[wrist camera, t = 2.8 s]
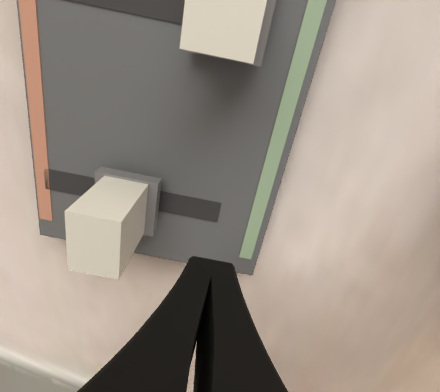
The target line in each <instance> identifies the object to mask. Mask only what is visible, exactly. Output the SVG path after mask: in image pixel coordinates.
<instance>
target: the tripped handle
mask: <svg viewBox="0 0 440 392" xmlns="http://www.w3.org/2000/svg"><path fill="white" fill-rule="evenodd" d="M161 181H162V178H157V177H152V176H147V175H142V174H137V173H132V172H127V171H122V170H117V169H112V168H106V167H100V168H98V169H97V170H96V171H95V185H93V186H92V187H91V188H90V189H89V190H88V191H87V192H86V193H84V194H83V195H82V196H81V197H80V198H79V199H78V200H77V201H75V202H74V203H73V204H72V205H71V206H70V207H69V208H68V209H66V210H65V229H66V248H67V267H68V270H69V271H75V272H80V273H85V274H91V275H96V276H101V277H106V278H112V279H117V280H119V278H120V276H121V275H122V273H123V271H124V269H125V267H126V265H127V264H128V262H129V260H130V258H131V256H132V254H133V253H134V251H135V249H136V247H137V245H138V243H139V242H140V240H141V238H142V236H143V235H147V236H152V237H153V235H154V233H155V231H156V228H157V218H158V209H159V200H160V191H161Z"/></svg>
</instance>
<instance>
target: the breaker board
mask: <svg viewBox="0 0 440 392" xmlns="http://www.w3.org/2000/svg"><path fill="white" fill-rule="evenodd" d="M335 2H336V0H276V3H275V8H274V12H273V16H272V21H271V25H270V30H269V34H268V38H267V43H266V47H265V51H264V56H263V60H262V65H261V67H258V66H253V65H249V64H244V63H239V62H234V61H230V60H225V59H220V58H215V57H210V56H206V55H201V54H196V53H191V52H186V51H184V49H179V48H180V39H181V31H182V22H183V13H184V4H185V0H17V8H18V18H19V28H20V38H21V48H22V58H23V68H24V78H25V88H26V98H27V108H28V118H29V128H30V138H31V148H32V158H33V168H34V178H35V188H36V198H37V208H38V218H39V228H40V235H45V236H50V237H55V238H60V239H65V240H66V229H65V210H66V209H68V208H69V207H70V206H71V205H72V204H73V203H74V202H75V201H77V200H78V199H79V198H80V197H81V196H82V195H83V194H84V193H86V192H87V191H88V190H89V189H90V188H91V187H92V186H93V185H95V171H96V170H97V169H98V168H100V167H106V168H112V169H117V170H122V171H127V172H132V173H137V174H142V175H147V176H152V177H157V178H162V181H161V191H160V200H159V209H158V218H157V228H156V231H155V233H154V235H153V237H152V236H147V235H143V236H142V238H141V240H140V242H139V243H138V245H137V247H136V249H135V251H134V253H138V254H144V255H149V256H154V257H159V258H164V259H170V260H175V261H180V262H185V263H188V260H189V258H190V257H192V256H197V257H202V258H207V259H212V260H218V261H223V262H228V263H232V264H233V265H234V267H235V271H236V272H237V273H242V274H248V275H253V271H254V268H255V265H256V261H257V258H258V255H259V252H260V248H261V245H262V242H263V238H264V235H265V232H266V229H267V225H268V222H269V219H270V216H271V212H272V209H273V206H274V202H275V199H276V196H277V193H278V189H279V186H280V183H281V179H282V176H283V173H284V170H285V166H286V163H287V160H288V156H289V153H290V150H291V147H292V143H293V140H294V137H295V133H296V130H297V127H298V124H299V120H300V117H301V114H302V110H303V107H304V104H305V101H306V97H307V94H308V91H309V87H310V84H311V81H312V78H313V74H314V71H315V68H316V64H317V61H318V58H319V55H320V51H321V48H322V45H323V41H324V38H325V35H326V32H327V28H328V25H329V22H330V18H331V15H332V12H333V9H334V5H335Z"/></svg>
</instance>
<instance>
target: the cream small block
mask: <svg viewBox="0 0 440 392" xmlns="http://www.w3.org/2000/svg"><path fill="white" fill-rule="evenodd" d="M275 3H276V0H185V4H184V13H183V22H182V31H181V39H180V48H179V49H184V51H186V52H191V53H196V54H201V55H206V56H210V57H215V58H220V59H225V60H230V61H234V62H239V63H244V64H249V65H253V66H258V67H261V65H262V60H263V56H264V51H265V47H266V43H267V38H268V34H269V30H270V25H271V21H272V16H273V12H274V8H275Z"/></svg>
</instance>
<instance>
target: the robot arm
mask: <svg viewBox="0 0 440 392" xmlns="http://www.w3.org/2000/svg"><path fill="white" fill-rule="evenodd" d="M196 341H197V346H196V360H195V375H194V391H193V392H288V391H287V389H286V387H285V386H284V384H283V382H282V380H281V378H280V377H279V375H278V373H277V371H276V369H275V367H274V365H273V363H272V361H271V359H270V357H269V355H268V353H267V351H266V349H265V347H264V345H263V343H262V341H261V339H260V337H259V334H258V332H257V330H256V327H255V325H254V323H253V320H252V318H251V315H250V313H249V310H248V308H247V305H246V303H245V300H244V297H243V294H242V291H241V288H240V285H239V282H238V278H237V275H236V271H235V267H234V265H233V264H232V263H228V262H223V261H218V260H212V259H207V258H202V257H197V256H192V257H190V258H189V260H188V263H187V265H186V267H185V269H184V270H183V272H182V274H181V275H180V277H179V279H178V280H177V282H176V283H175V285H174V286H173V288H172V289H171V290H170V292H169V293H168V295H167V296H166V297H165V299H164V300H163V301H162V303H161V304H160V305H159V307H158V308H157V309H156V310H155V312H154V313H153V314H152V315H151V316H150V318H149V319H148V320H147V321H146V322H145V324H144V325H143V326H142V327H141V328H140V329H139V331H138V332H137V333H136V334H135V335H134V336H133V337H132V338H131V339H130V341H129V342H128V343H127V344H126V345H125V346H124V347H123V348H122V349H121V350H120V351H119V352H118V353H117V354H116V355H115V356H114V357H113V358H112V359H111V360H110V361H109V362H108V363H107V364H106V365H105V366H104V367H103V368H102V369H101V370H100V371H99V372H98V373H97V374H96V375H95V376H93V377H92V378H91V379H90V380H89V381H88V382H87V383H86V384H85V385H84V386H83V387H82V388H81V389H80V390H78V391H77V392H186V390H187V383H188V376H189V369H190V365H191V361H192V357H193V353H194V349H195V345H196Z"/></svg>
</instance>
